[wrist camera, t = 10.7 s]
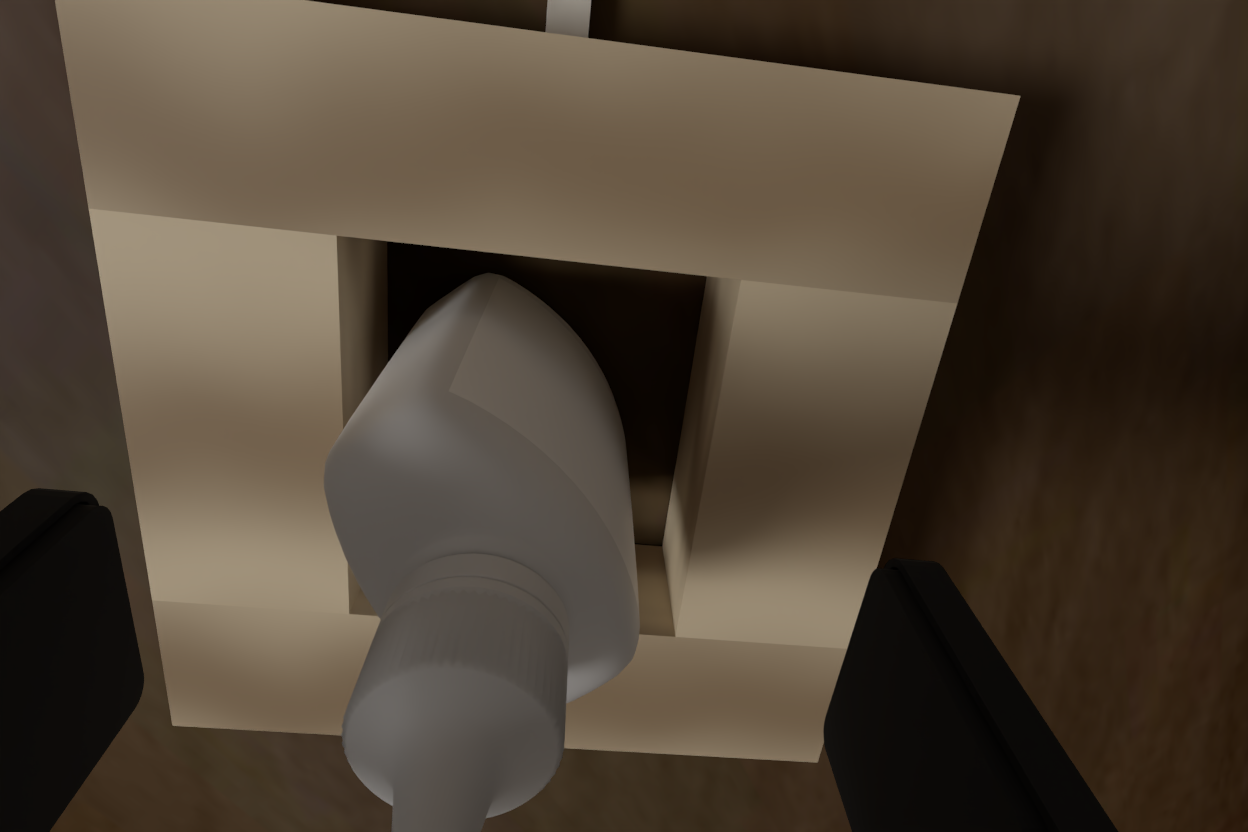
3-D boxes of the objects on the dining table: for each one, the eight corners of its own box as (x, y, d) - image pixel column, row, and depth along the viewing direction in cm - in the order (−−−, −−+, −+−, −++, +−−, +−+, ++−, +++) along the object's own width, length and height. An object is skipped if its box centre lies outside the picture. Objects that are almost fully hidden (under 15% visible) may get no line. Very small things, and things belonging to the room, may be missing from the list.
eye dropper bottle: (612, 257, 17) (647, 606, 6) (628, 480, 19) (676, 1026, 8) (413, 273, 17) (80, 648, 6) (454, 494, 19) (270, 1057, 8)
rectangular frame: (169, -12, 14) (49, -34, 11) (933, 90, 16) (1020, 95, 12) (237, 623, 21) (172, 725, 17) (784, 661, 22) (817, 762, 19)
